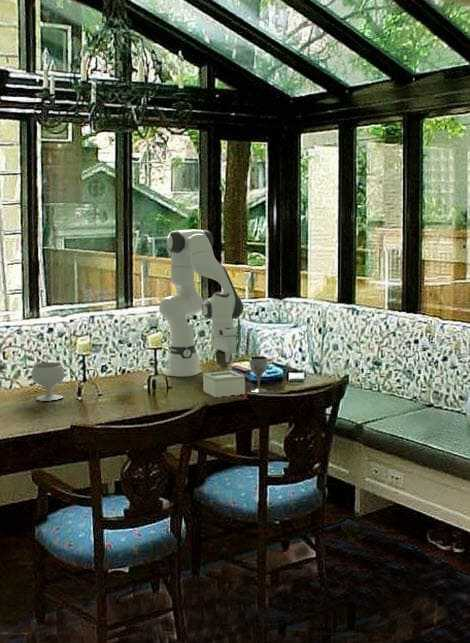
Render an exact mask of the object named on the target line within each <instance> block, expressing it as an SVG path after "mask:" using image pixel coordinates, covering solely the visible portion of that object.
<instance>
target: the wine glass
mask: <svg viewBox="0 0 470 643" xmlns="http://www.w3.org/2000/svg"><path fill="white" fill-rule="evenodd" d="M249 368H250V371H251V372H252V373H253V375H255V377H256V379H257V388H255V389H251V390H250V392H251V393H254V392H255V393H256V394H261V393H266V392H268V391H267V389H265V388H261V387H260V383H261V378H262V376H263V374H264V373H265V372H266V371H267V368H268V357H267V356H264V355H256V356H255V355H254V356H250V357H249Z"/></svg>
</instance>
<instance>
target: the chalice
mask: <svg viewBox="0 0 470 643" xmlns="http://www.w3.org/2000/svg"><path fill="white" fill-rule="evenodd" d="M65 375H66V373H65V369H64V366H63V365H62V363H61V362H41V363H37V364H35V365H34V366H33V367H32V371H31V379H32V381H33V382H35V383H36V384H38V385H40V386H42V387H44V388H45V390H46V394H42V395H39V396H37V397H35V398H36V399H38V400H45V401H50V402H52V401H51V400H57V401H59V400H58V399H61V398H63V397H64V396H63V395H61V394H54V393H52V389H53V388H54V387H55V386H57V385H58V384H59V383H60V382H62V381H63V380H64V379H65ZM63 399H64V398H63ZM61 400H62V399H61Z"/></svg>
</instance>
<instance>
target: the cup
mask: <svg viewBox="0 0 470 643" xmlns="http://www.w3.org/2000/svg"><path fill="white" fill-rule="evenodd" d="M214 353H215V355H214V356H215V361H216V364H218V366H219V369H220V370H228V369H229V365H230V364H231V362H232V355H233V353H231V356H230V362H225V356H226V355H225V352H223V351H221V350H218V351H216V350H215V351H214Z"/></svg>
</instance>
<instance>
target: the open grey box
mask: <svg viewBox="0 0 470 643" xmlns="http://www.w3.org/2000/svg"><path fill="white" fill-rule="evenodd" d="M202 380H203V381H202V383H203V384H202V385H203V392H204V393H206V394H207V395H209V394H210V396H211V395H212V396H211V397H213V396H214V397H213V398H215V397H218V398H223V397H222V396H226V397H232V396H231V395H235V396H241V395H240V394H243V395H246V375H243V374H241V373H238V372H237V371H235V370H226V371H225V370H223V371H216V372H215V371H214V372H204V373H202Z"/></svg>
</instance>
